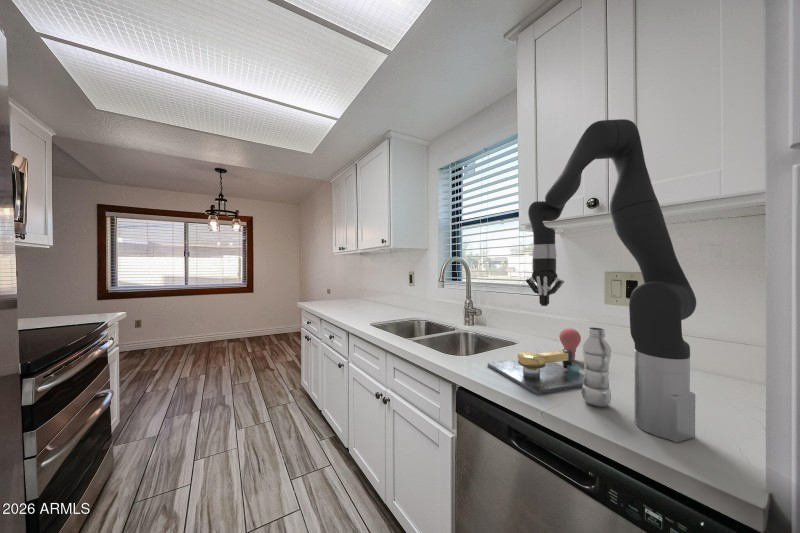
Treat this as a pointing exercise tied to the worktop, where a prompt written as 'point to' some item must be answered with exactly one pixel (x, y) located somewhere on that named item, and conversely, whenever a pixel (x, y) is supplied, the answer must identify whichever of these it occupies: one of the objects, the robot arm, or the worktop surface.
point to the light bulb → (570, 339)
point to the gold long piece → (545, 358)
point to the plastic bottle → (596, 368)
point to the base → (541, 376)
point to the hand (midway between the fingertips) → (544, 305)
